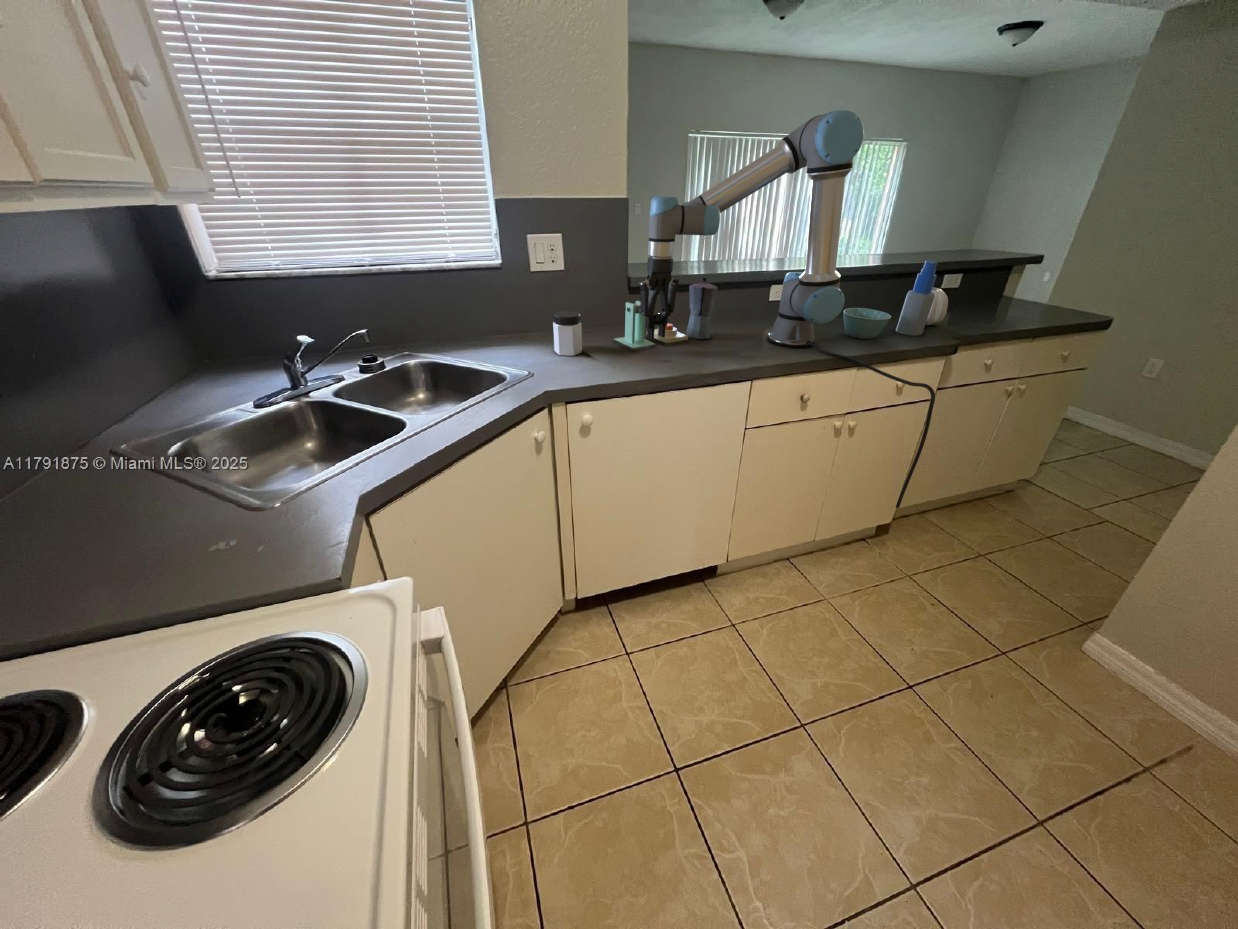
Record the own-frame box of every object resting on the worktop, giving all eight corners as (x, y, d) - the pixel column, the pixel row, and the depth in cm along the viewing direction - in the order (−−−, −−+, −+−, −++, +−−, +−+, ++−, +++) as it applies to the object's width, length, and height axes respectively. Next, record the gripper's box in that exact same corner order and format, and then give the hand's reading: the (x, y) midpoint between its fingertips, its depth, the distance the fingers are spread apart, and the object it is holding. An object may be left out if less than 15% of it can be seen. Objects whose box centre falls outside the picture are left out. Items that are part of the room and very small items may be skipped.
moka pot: (710, 332, 179) (717, 274, 169) (713, 344, 166) (720, 283, 156) (684, 330, 180) (689, 273, 170) (685, 343, 167) (691, 281, 156)
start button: (674, 330, 167) (675, 325, 166) (666, 331, 165) (666, 326, 164) (668, 327, 170) (668, 322, 169) (660, 329, 168) (660, 323, 167)
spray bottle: (897, 327, 189) (918, 258, 176) (923, 331, 185) (946, 261, 172) (894, 332, 182) (916, 261, 170) (921, 336, 178) (945, 264, 166)
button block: (687, 342, 167) (688, 331, 165) (666, 346, 163) (667, 334, 161) (666, 334, 176) (667, 322, 174) (646, 337, 172) (646, 326, 170)
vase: (911, 317, 204) (922, 283, 197) (947, 324, 195) (959, 289, 188) (896, 322, 196) (907, 287, 190) (933, 329, 187) (945, 293, 180)
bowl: (893, 337, 176) (900, 314, 172) (868, 344, 169) (875, 320, 164) (854, 327, 187) (860, 306, 183) (829, 333, 180) (834, 311, 176)
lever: (664, 325, 150) (666, 314, 148) (655, 327, 149) (656, 315, 147) (637, 312, 161) (638, 301, 159) (628, 313, 159) (628, 302, 157)
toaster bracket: (655, 347, 162) (657, 304, 155) (633, 351, 158) (634, 308, 150) (635, 338, 170) (636, 297, 163) (613, 342, 166) (614, 300, 159)
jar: (585, 354, 154) (584, 316, 148) (561, 357, 151) (559, 318, 145) (575, 346, 161) (574, 309, 155) (551, 349, 158) (549, 311, 152)
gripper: (675, 253, 147) (669, 330, 159) (629, 256, 139) (627, 337, 151) (691, 257, 142) (684, 336, 154) (644, 260, 134) (640, 344, 146)
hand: (655, 337), depth 153 cm, fingers closed on lever, 4 cm apart
